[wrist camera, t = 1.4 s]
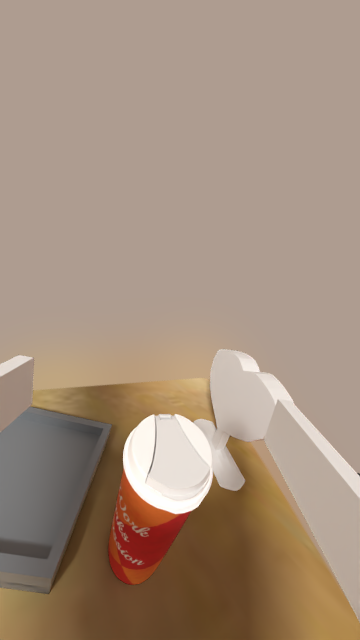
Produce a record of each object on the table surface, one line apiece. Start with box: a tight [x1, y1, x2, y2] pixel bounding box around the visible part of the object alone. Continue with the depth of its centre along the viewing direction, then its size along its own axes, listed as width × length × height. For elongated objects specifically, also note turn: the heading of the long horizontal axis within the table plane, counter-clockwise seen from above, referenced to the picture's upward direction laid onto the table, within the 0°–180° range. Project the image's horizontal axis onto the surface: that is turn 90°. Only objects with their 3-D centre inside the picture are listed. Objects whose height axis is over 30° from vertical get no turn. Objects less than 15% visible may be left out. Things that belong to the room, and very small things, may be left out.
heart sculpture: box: [193, 349, 294, 491], centre depth 34 cm, size 16×5×18 cm, turn 19°
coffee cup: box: [108, 414, 213, 585], centre depth 20 cm, size 8×8×15 cm
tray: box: [0, 407, 112, 594], centre depth 24 cm, size 16×16×2 cm
